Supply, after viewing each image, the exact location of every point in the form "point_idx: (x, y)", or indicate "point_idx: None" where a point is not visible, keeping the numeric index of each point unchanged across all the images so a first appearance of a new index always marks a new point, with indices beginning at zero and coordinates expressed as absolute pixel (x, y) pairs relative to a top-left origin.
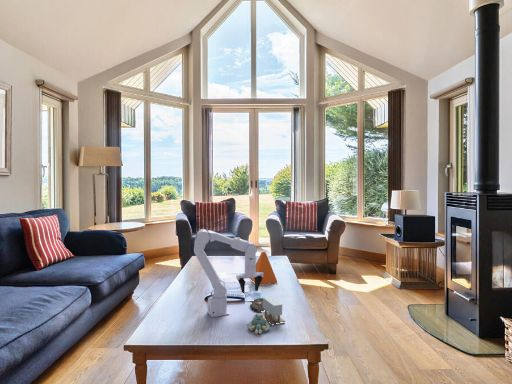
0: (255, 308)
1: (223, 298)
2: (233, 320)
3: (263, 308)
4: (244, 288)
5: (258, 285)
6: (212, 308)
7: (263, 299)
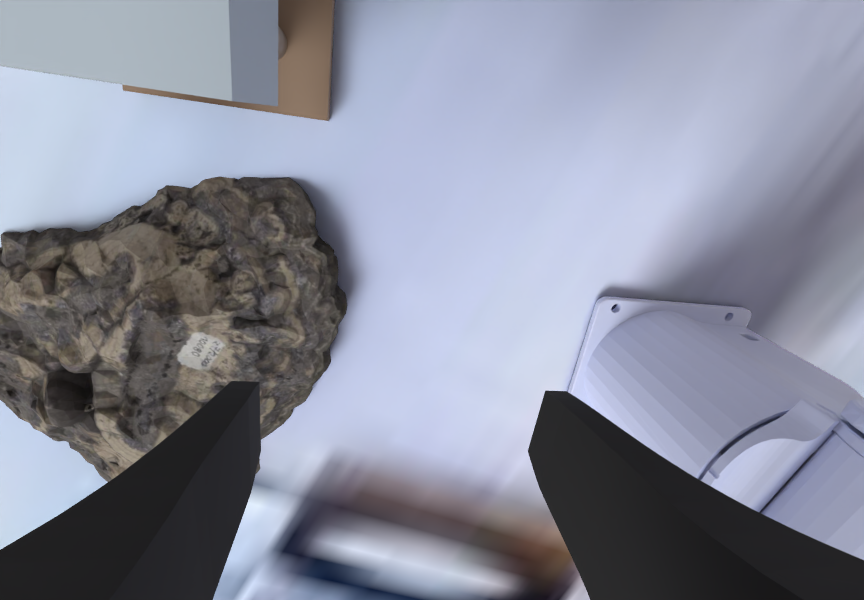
0: (320, 259)
1: (793, 404)
2: (649, 156)
3: (212, 230)
4: (612, 446)
5: (161, 470)
6: (795, 359)
7: (240, 60)
